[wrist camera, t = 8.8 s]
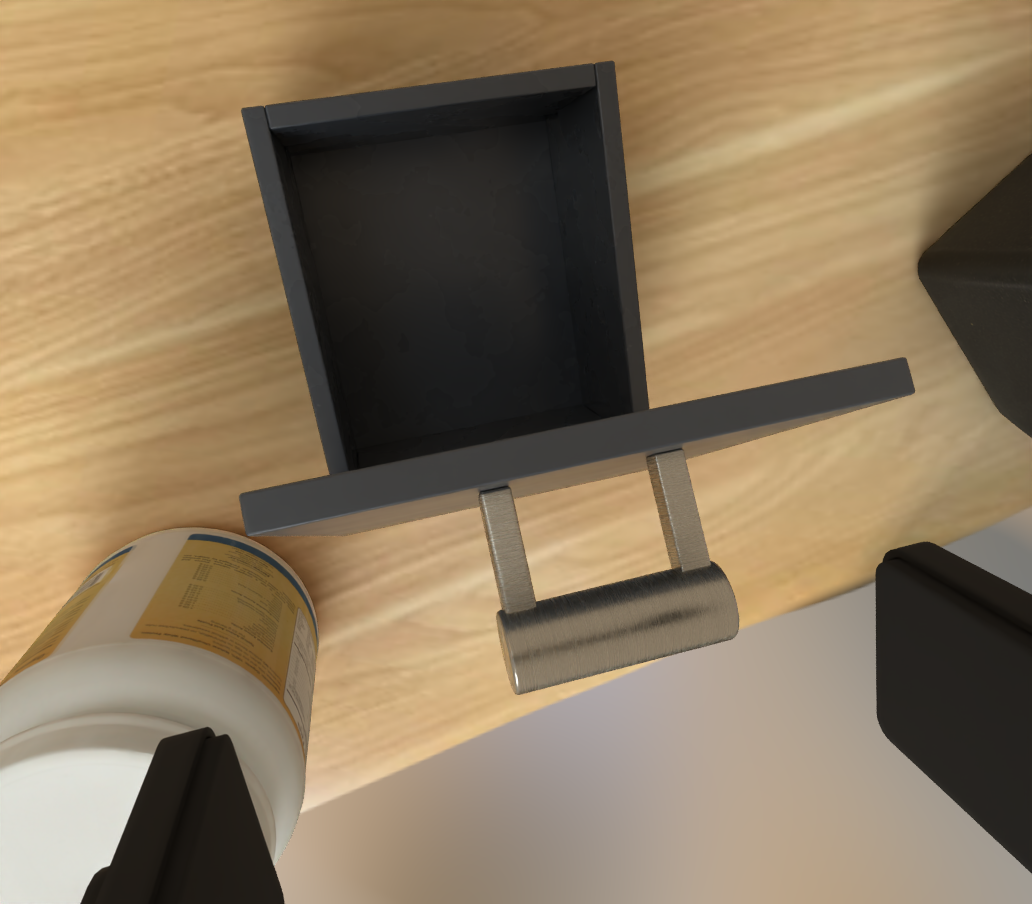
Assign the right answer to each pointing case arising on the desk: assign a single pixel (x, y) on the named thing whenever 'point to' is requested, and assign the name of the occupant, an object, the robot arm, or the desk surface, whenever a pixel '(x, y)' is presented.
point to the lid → (569, 462)
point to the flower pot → (991, 291)
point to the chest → (455, 259)
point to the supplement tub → (152, 700)
